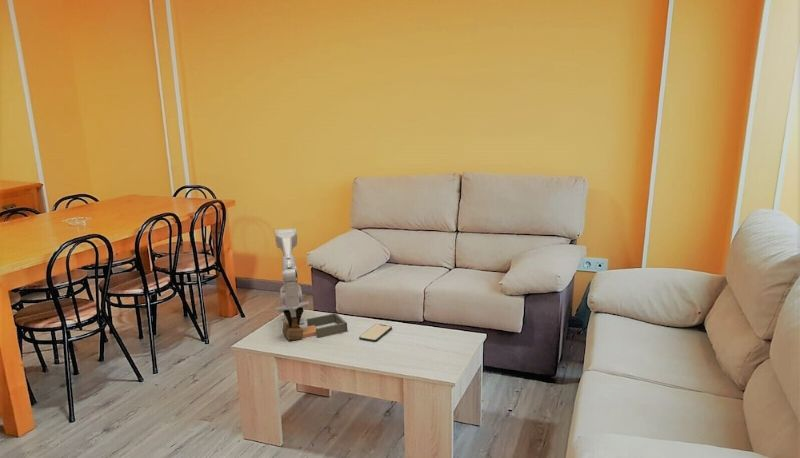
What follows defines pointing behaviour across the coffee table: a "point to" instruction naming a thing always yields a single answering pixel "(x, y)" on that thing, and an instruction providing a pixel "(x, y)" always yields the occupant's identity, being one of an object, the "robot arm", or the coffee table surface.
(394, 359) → the coffee table surface
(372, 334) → the phone case
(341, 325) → the frame
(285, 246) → the robot arm
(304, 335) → the tile
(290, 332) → the pusher
